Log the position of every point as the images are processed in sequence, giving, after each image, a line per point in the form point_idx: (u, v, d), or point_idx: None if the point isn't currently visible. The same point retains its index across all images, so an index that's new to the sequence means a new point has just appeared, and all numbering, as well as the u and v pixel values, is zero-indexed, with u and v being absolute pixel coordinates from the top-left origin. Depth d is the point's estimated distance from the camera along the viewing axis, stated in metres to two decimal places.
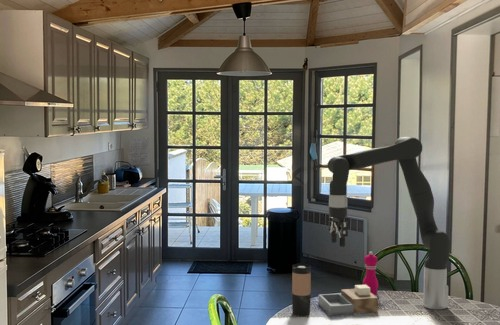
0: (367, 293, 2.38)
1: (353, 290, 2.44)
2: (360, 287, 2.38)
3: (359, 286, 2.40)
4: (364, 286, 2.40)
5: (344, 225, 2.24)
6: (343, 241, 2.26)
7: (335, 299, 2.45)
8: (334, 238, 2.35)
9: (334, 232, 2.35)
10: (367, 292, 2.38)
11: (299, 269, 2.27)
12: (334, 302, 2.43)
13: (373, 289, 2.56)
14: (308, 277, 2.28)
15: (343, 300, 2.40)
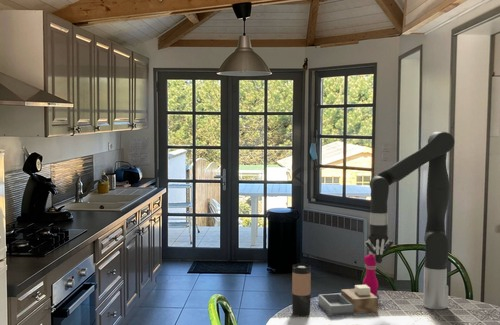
0: (367, 293, 2.38)
1: (353, 290, 2.44)
2: (360, 287, 2.38)
3: (359, 286, 2.40)
4: (364, 286, 2.40)
5: None
6: None
7: (335, 299, 2.45)
8: None
9: None
10: (367, 292, 2.38)
11: (299, 269, 2.27)
12: (334, 302, 2.43)
13: (373, 289, 2.56)
14: (308, 277, 2.28)
15: (343, 300, 2.40)
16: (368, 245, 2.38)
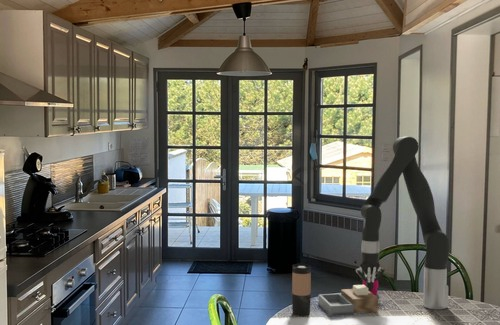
0: (365, 293, 2.38)
1: None
2: (358, 287, 2.38)
3: (357, 286, 2.40)
4: (362, 286, 2.40)
5: None
6: None
7: (335, 299, 2.45)
8: None
9: None
10: (365, 292, 2.37)
11: (299, 269, 2.27)
12: (334, 302, 2.43)
13: (373, 289, 2.56)
14: (308, 277, 2.28)
15: (343, 300, 2.40)
16: (360, 273, 2.38)
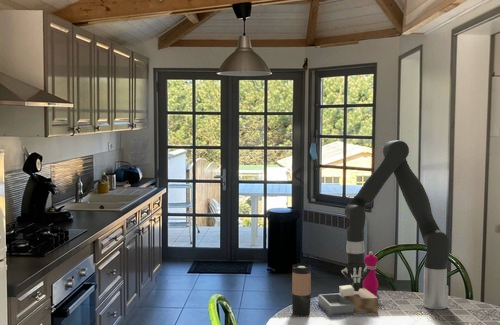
0: (351, 294, 2.37)
1: None
2: (344, 288, 2.37)
3: (343, 287, 2.39)
4: (348, 287, 2.39)
5: None
6: None
7: (335, 299, 2.45)
8: None
9: None
10: (351, 292, 2.37)
11: (299, 269, 2.27)
12: (334, 302, 2.43)
13: (373, 289, 2.56)
14: (308, 277, 2.28)
15: (343, 300, 2.40)
16: (345, 274, 2.37)
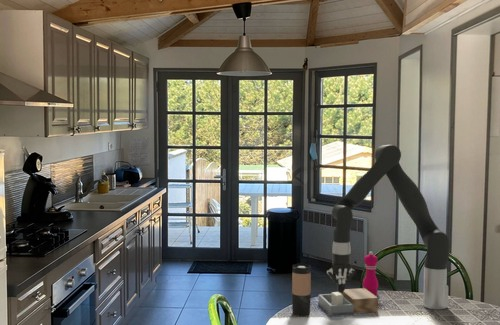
0: (341, 298, 2.37)
1: (353, 290, 2.44)
2: (335, 303, 2.38)
3: (333, 302, 2.39)
4: (334, 298, 2.39)
5: None
6: None
7: None
8: None
9: None
10: (340, 298, 2.37)
11: (299, 269, 2.27)
12: None
13: (373, 289, 2.56)
14: (308, 277, 2.28)
15: (343, 300, 2.40)
16: (330, 274, 2.35)
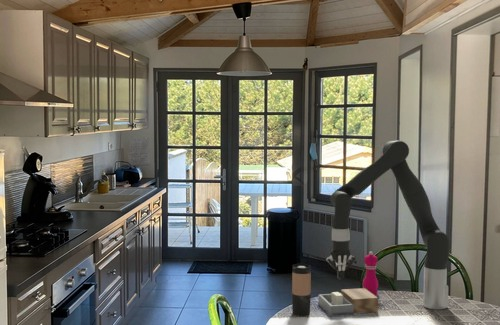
0: (341, 298, 2.37)
1: (353, 290, 2.44)
2: (335, 303, 2.38)
3: (333, 302, 2.39)
4: (334, 298, 2.39)
5: None
6: None
7: None
8: None
9: None
10: (340, 298, 2.37)
11: (299, 269, 2.27)
12: None
13: (373, 289, 2.56)
14: (308, 277, 2.28)
15: (343, 300, 2.40)
16: (330, 261, 2.35)
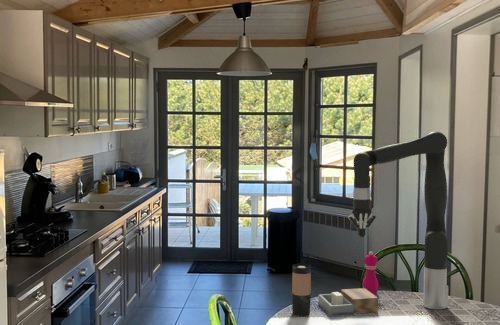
0: (341, 298, 2.37)
1: (353, 290, 2.44)
2: (335, 303, 2.38)
3: (333, 302, 2.39)
4: (334, 298, 2.39)
5: None
6: None
7: None
8: None
9: None
10: (340, 298, 2.37)
11: (299, 269, 2.27)
12: None
13: (373, 289, 2.56)
14: (308, 277, 2.28)
15: (343, 300, 2.40)
16: (352, 219, 2.45)
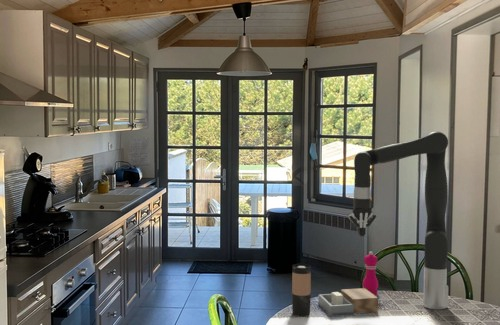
0: (341, 298, 2.37)
1: (353, 290, 2.44)
2: (335, 303, 2.38)
3: (333, 302, 2.39)
4: (334, 298, 2.39)
5: None
6: None
7: None
8: None
9: None
10: (340, 298, 2.37)
11: (299, 269, 2.27)
12: None
13: (373, 289, 2.56)
14: (308, 277, 2.28)
15: (343, 300, 2.40)
16: (352, 218, 2.45)
